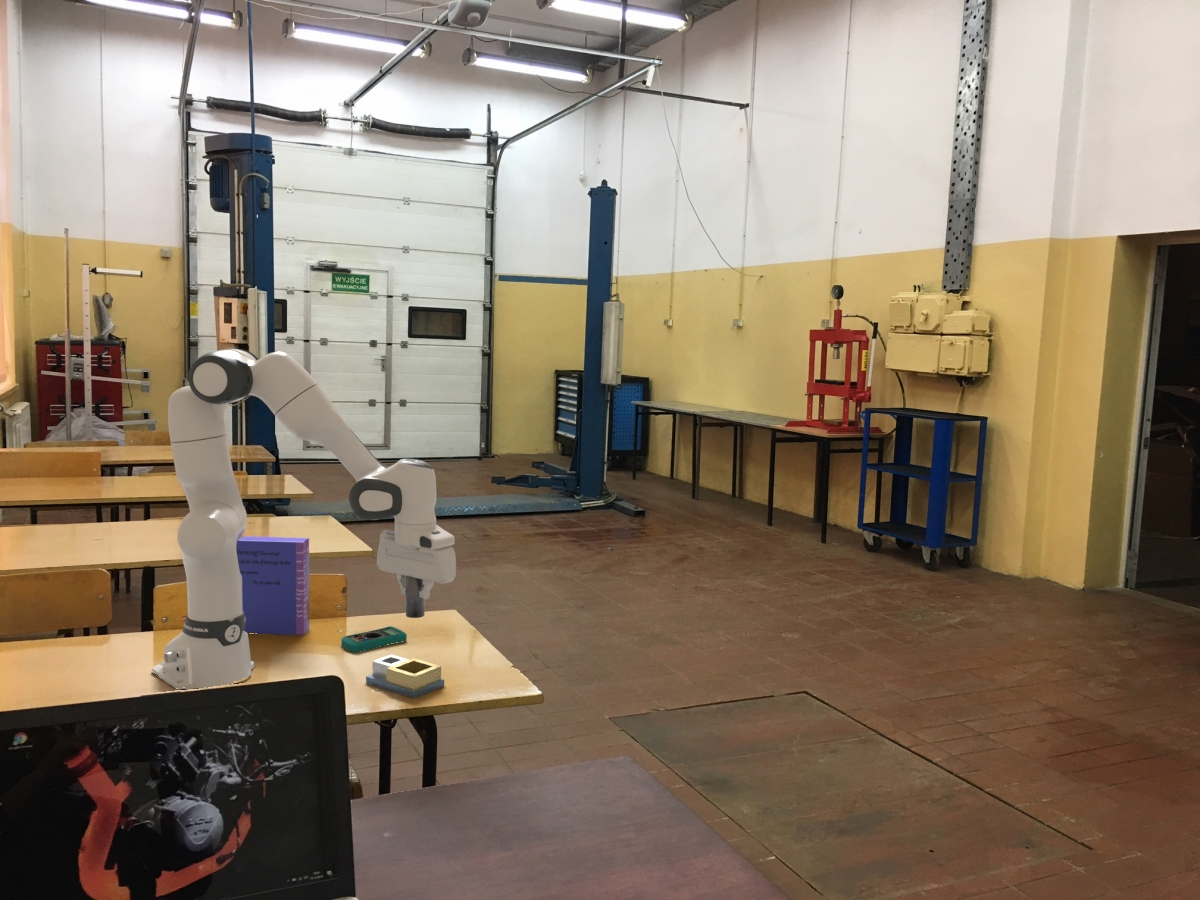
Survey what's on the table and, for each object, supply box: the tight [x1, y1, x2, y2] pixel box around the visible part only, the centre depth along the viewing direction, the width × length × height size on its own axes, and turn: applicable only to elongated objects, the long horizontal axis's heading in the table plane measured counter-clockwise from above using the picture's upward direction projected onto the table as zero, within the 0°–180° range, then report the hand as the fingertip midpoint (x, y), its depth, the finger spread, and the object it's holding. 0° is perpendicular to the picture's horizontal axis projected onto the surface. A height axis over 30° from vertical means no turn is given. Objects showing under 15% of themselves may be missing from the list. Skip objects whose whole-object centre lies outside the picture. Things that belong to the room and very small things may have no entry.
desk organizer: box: [365, 654, 445, 699], centre depth 208 cm, size 14×9×4 cm, turn 57°
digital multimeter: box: [341, 625, 408, 653], centre depth 235 cm, size 7×15×3 cm, turn 133°
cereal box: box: [236, 535, 311, 636], centre depth 240 cm, size 17×5×24 cm, turn 91°
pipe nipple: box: [405, 576, 426, 619], centre depth 208 cm, size 4×4×9 cm
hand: (415, 596), depth 208 cm, fingers closed on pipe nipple, 4 cm apart
